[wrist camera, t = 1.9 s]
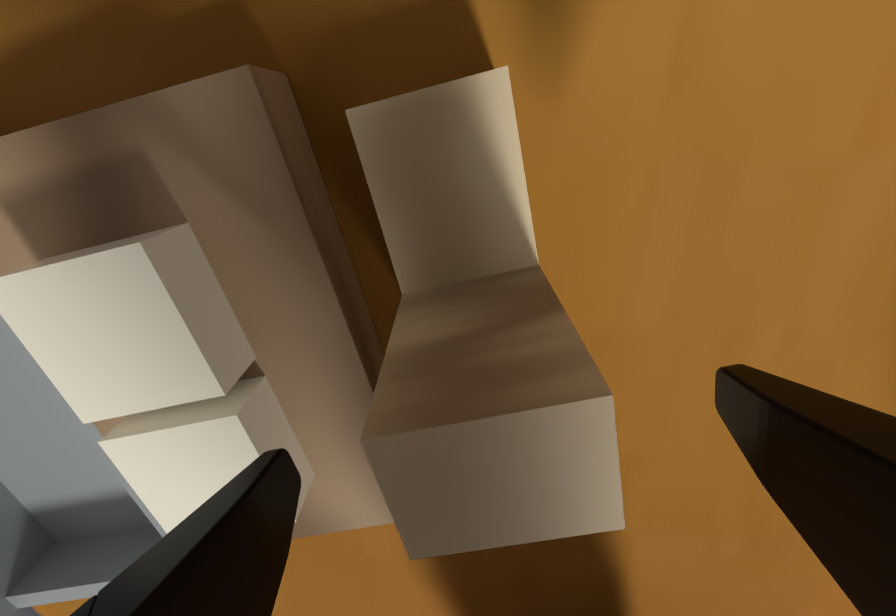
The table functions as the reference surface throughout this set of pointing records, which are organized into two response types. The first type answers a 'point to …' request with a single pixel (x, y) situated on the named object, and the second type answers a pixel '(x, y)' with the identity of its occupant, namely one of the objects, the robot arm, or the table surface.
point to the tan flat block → (223, 248)
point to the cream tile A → (128, 324)
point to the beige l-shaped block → (477, 338)
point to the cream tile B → (201, 448)
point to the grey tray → (58, 494)
